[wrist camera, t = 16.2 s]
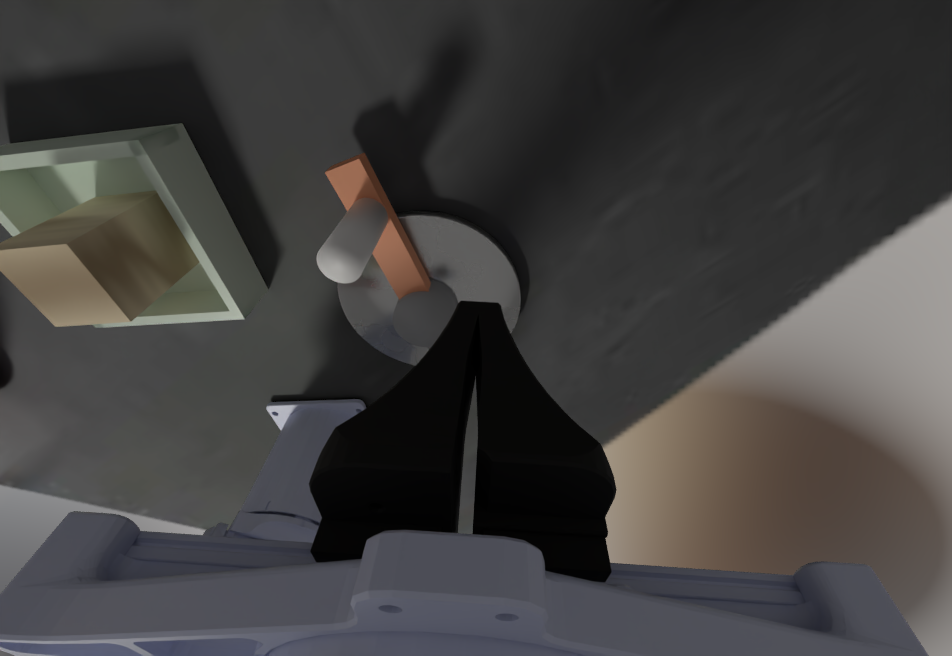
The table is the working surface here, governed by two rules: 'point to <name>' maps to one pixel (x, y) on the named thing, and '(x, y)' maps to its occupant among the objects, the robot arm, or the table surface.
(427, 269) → the dial plate
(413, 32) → the table surface
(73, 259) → the brown block
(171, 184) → the tray
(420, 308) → the crank
